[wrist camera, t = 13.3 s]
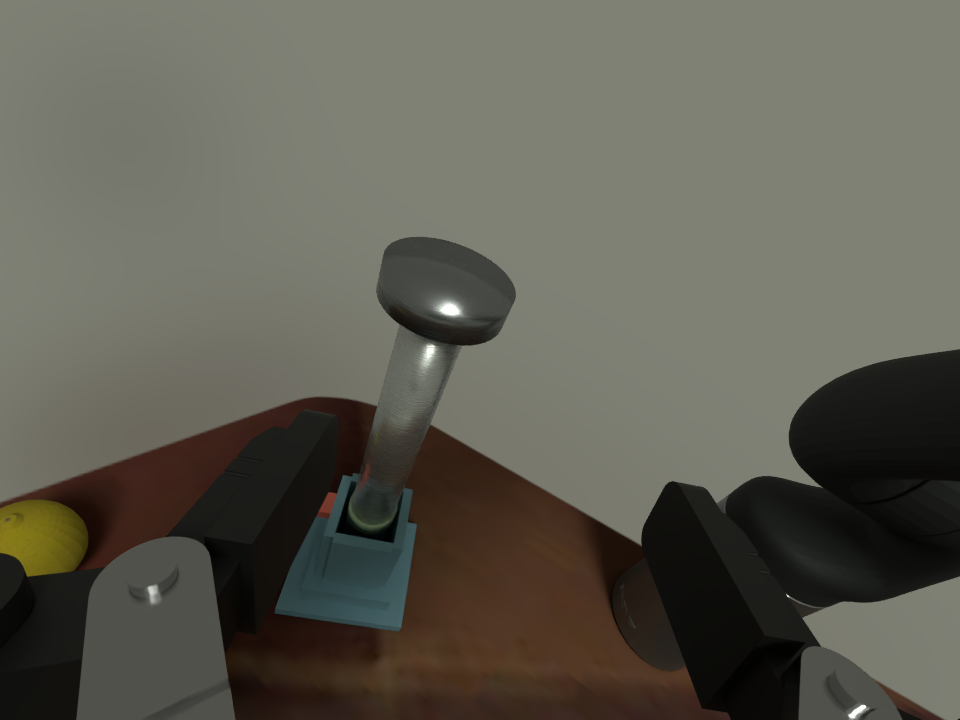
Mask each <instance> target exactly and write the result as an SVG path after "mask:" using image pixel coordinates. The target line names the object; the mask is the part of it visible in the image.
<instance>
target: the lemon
mask: <svg viewBox="0 0 960 720" xmlns="http://www.w3.org/2000/svg"><path fill="white" fill-rule="evenodd" d="M87 547H88V532H87V529H86V526H85V523H84V521H83V520H82V519H81V518H80V517H79V516H78V515H77V513H76V512H75V511H73V510H72V509H70V508H69V507H67V506H64V505H62V504H60V503H58V502H54V501H48V500H27V501H21V502H17V503H14V504H11V505H8V506H5V507H3V508H1V509H0V553H4V554H9V555H11V556H14V557H16V558H17V559H18V560H19V561H20V562H21V563H22V565H23V567H24V570H25V572H26V574H27V577H28V576H37V575H46V574H55V573H64V572H72V571H74V570H75V569H76V568H77V567H78V565H79V564H80V562H81V561H82V560H83V558H84V555H85V553H86V550H87Z"/></svg>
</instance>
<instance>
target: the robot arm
mask: <svg viewBox="0 0 960 720" xmlns="http://www.w3.org/2000/svg"><path fill="white" fill-rule="evenodd" d="M338 427H339V419H338V416H337V415H333V414H327V413H322V412H317V411H312V410H307V409H304V410H303V411H301V413H300V414H299V415H298V416H297V418H296V419H295V420H294V421H293V423H292V424H291V425H290V427H289V428H288V429H285V428H280V427H275V426H274V427H272V428H271V429H269V430H267V431H265V432H264V433H262V434H260V435H258V436H257V437H255V438H253V439H252V440H251V441H250V442H249V443H248V444H247V446H246V447H245V448H244V449H243V450H242V451H241V452H240V454H239V455H238V457H237V459H234V460H233V461H232V463H231V464H230V465H229V466H228V467H227V468H226V469H225V472H224V474H221V475H220V476H219V477H218V478H217V480H216V481H215V482H214V483H213V484H212V485H211V486H210V488H209V489H208V490H207V491H206V492H205V493H204V494H203V496H202V497H201V498H200V499H199V500H198V501H197V502H196V503H195V505H194V506H193V507H192V508H191V509H190V510H189V511H188V513H187V514H186V515H185V516H184V517H183V518H182V519H181V521H180V522H179V523H178V524H177V525H176V526H175V527H174V528H173V530H172V531H171V532H170V533H169V534H168V535H167V536H166V537H165V538H159V539H155V540H151V541H148V542H145V543H143V544H140V545H138V546H136V547H134V548H132V549H130V550H128V551H126V552H125V553H123V554H121V555H120V556H119V557H117V558H116V559H114V560H113V561H112V562H111V563H110V564H109V565H107V566H106V567H103V568H97V569H90V570H81V571H72V572H64V573H55V574H46V575H37V576H28V577H27V574H26V572H25V570H24V567H23V565H22V563H21V562H20V561H19V560H18V559H17V558H16V557H14V556H11V555H9V554H4V553H0V720H235V714H234V708H233V701H232V695H231V689H230V684H229V680H228V674H227V668H226V661H225V653H226V651H227V649H228V647H229V645H230V644H231V642H232V640H233V638H234V636H235V634H236V633H237V632H243V633H249V634H255V635H256V634H257V632H258V630H259V628H260V626H261V624H262V622H263V620H264V618H265V617H266V615H267V613H268V611H269V609H270V607H271V605H272V603H273V601H274V599H275V597H276V595H277V593H278V591H279V589H280V587H281V585H282V583H283V581H284V579H285V577H286V575H287V573H288V571H289V569H290V567H291V565H292V563H293V561H294V559H295V557H296V555H297V553H298V552H299V550H300V548H301V546H302V544H303V542H304V540H305V538H306V536H307V534H308V532H309V530H310V528H311V526H312V524H313V522H314V520H315V518H316V516H317V514H318V512H319V510H320V508H321V506H322V504H323V502H324V500H325V498H326V496H327V494H328V492H329V490H330V487H331V484H332V481H333V478H334V473H335V468H336V455H337V441H338ZM789 445H790V448H791V451H792V454H793V456H794V458H795V460H796V461H797V463H798V464H799V466H800V467H801V468H802V469H803V470H804V471H805V472H806V473H807V474H808V475H809V476H810V477H811V478H812V479H813V480H814V481H815V482H816V483H818V484H819V485H820V486H821V487H823V488H821V487H815V486H810V485H806V484H802V483H798V482H794V481H791V480H787V479H783V478H778V477H772V476H761V477H756V478H753V479H751V480H749V481H747V482H745V483H744V484H742V485H741V486H740V487H738V488H737V489H736V490H734V491H733V492H732V493H731V494H729V495H728V496H726V497H725V498H724V499H722V500H721V501H720V502H718V503H717V504H716V502H715V501H714V499H713V498H712V496H711V495H710V493H709V492H708V490H706V489H705V488H703V487H700V486H694V485H689V484H684V483H679V482H674V481H672V482H669V483H668V484H667V485H666V486H665V487H664V489H663V491H662V492H661V494H660V496H659V498H658V500H657V502H656V504H655V505H654V507H653V509H652V511H651V513H650V515H649V517H648V519H647V520H646V522H645V524H644V527H643V531H642V539H641V542H642V549H643V553H644V556H645V558H644V559H642V560H641V561H639V562H638V563H637V564H635V565H634V566H633V567H631V568H630V569H629V570H627V571H626V572H625V573H624V574H622V575H621V576H620V577H619V578H618V579H617V581H616V582H615V585H614V588H613V592H612V604H613V611H614V615H615V618H616V622H617V624H618V626H619V628H620V631H621V633H622V634H623V636H624V638H625V639H626V641H627V643H628V644H629V645H630V646H631V647H632V649H633V650H634V651H635V652H636V653H637V654H638V655H639V656H640V657H641V658H642V659H643V660H644V661H646V662H647V663H649V664H650V665H652V666H654V667H656V668H659V669H661V670H666V671H675V670H679V669H682V668H684V667H687V670H688V672H689V675H690V678H691V680H692V683H693V686H694V688H695V691H696V694H697V696H698V699H699V702H700V704H701V707H702V709H708V710H714V711H720V712H727V713H728V714H729V716H730V718H731V720H921V719H919V718H917V717H915V716H913V715H910V714H908V713H906V712H904V711H902V710H900V709H898V708H896V707H895V705H894V704H893V702H892V701H891V700H890V698H889V697H888V695H887V694H886V693H885V692H884V691H883V689H882V688H881V687H880V686H879V685H878V684H877V683H876V682H875V681H874V680H873V679H872V678H871V677H870V676H869V675H868V674H867V673H866V672H864V671H863V670H862V669H861V668H860V667H858V666H857V665H856V664H854V663H853V662H851V661H850V660H849V659H847V658H845V657H843V656H842V655H840V654H838V653H836V652H834V651H832V650H829V649H827V648H823V647H821V646H820V644H819V643H818V641H817V640H816V638H815V637H814V635H813V634H812V632H811V631H810V629H809V628H808V626H807V625H806V623H805V622H804V620H803V619H802V618H803V617H805V616H807V615H810V614H812V613H815V612H817V611H819V610H822V609H824V608H826V607H829V606H832V605H834V604H837V603H839V602H843V601H847V602H861V603H862V602H863V603H864V602H865V603H866V602H877V601H882V600H886V599H890V598H893V597H896V596H899V595H902V594H905V593H908V592H911V591H915V590H917V589H921V588H924V587H927V586H930V585H934V584H937V583H940V582H943V581H946V580H950V579H953V578H956V577H959V576H960V349H959V350H952V351H945V352H938V353H931V354H924V355H917V356H910V357H904V358H898V359H893V360H888V361H883V362H879V363H875V364H872V365H869V366H866V367H863V368H860V369H857V370H854V371H851V372H849V373H847V374H845V375H843V376H840V377H838V378H836V379H834V380H833V381H831V382H829V383H828V384H826V385H824V386H823V387H821V388H820V389H819V390H817V391H816V392H815V393H813V394H812V395H811V396H810V397H809V398H808V399H807V400H806V401H805V402H804V403H803V404H802V405H801V407H800V408H799V409H798V410H797V412H796V414H795V415H794V417H793V419H792V422H791V425H790V430H789ZM958 720H960V719H958Z"/></svg>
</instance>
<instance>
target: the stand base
mask: <svg viewBox="0 0 960 720" xmlns="http://www.w3.org/2000/svg"><path fill="white" fill-rule="evenodd" d="M358 476H359V474H355V473H353V476H352V477H350V476H346V475H343V477H342V481H341V484H340V487H339V490H338V493H337V494H336V493H331V492H328V494H327V496H326V498H325V500H324V502H323V504H322V506H321V508H320V510H319V512H318V514H317V516H316V518H315V520H314V522H313V524H312V526H311V528H310V530H309V532H308V534H307V536H306V538H305V540H304V542H303V544H302V546H301V548H300V550H299V552H298V553H297V555H296V557H295V559H294V561H293V563H292V565H291V567H290V570H289V573H288V575H287V578H286V581H285V583H284V586H283V589H282V591H281V594H280V597H279V600H278V602H277V605H276V608H275V614H282V615H289V616H295V617H302V618H309V619H316V620H323V621H330V622H337V623H344V624H350V625H357V626H364V627H371V628H378V629H385V630H392V631H399V630H400V629H401V626H402V619H403V613H404V606H405V599H406V593H407V586H408V580H409V573H410V567H411V560H412V554H413V547H414V540H415V534H416V527H417V524H413V523H408V516H409V510H410V505H411V499H412V493H413V490H411V489H407V488H405V487H404V489H403V492H402V494H401V497H400V499H399V502H398V508H397V512H396V514H395V517H394V519H393V521H392V523H391V525H390V526H389V527H388V529H387V531H386V534H385V536H384V538H383V541H378V540H373V539H367V538H362V537H357V536H351V535H346V534H344V528H345V524H346V521H347V509H348V505H349V502H350V498H351V496H352V494H353V493H354V491H355V487H356V484H357V480H358Z"/></svg>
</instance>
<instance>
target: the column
mask: <svg viewBox="0 0 960 720" xmlns="http://www.w3.org/2000/svg"><path fill="white" fill-rule="evenodd" d="M376 292H377V297H378V300H379V302H380V304H381V305H382V307H383V309H384V310H385V311H386V312H387V313H388V315H389V316H391V318H393V319H394V320H395V321H396V322H397V323H399V324H400V325H399V329H398V332H397V336H396V340H395V343H394V347H393V351H392V354H391V358H390V362H389V366H388V369H387V373H386V377H385V380H384V384H383V388H382V392H381V395H380V399H379V403H378V406H377V410H376V414H375V417H374V421H373V425H372V428H371V432H370V436H369V439H368V443H367V447H366V450H365V454H364V458H363V462H362V465H361V469H360V473H359V476H358V480H357V484H356V487H355V491H354V493H353V494H352V496H351V498H350V502H349V505H348V509H347V521H346V524H345V528H344V534H346V535H351V536H357V537H362V538H367V539H373V540H378V541H383V538H384V536H385V534H386V531H387V529H388V527H389V526H390V525H391V523H392V521H393V519H394V517H395V514H396V512H397V508H398V502H399V499H400V497H401V494H402V492H403V489H404V487H405V484H406V482H407V479H408V477H409V475H410V472H411V470H412V467H413V465H414V462H415V460H416V457H417V455H418V452H419V450H420V448H421V445H422V443H423V440H424V438H425V435H426V433H427V430H428V428H429V425H430V423H431V420H432V418H433V415H434V413H435V411H436V408H437V406H438V403H439V401H440V398H441V396H442V393H443V391H444V388H445V386H446V383H447V381H448V379H449V376H450V374H451V371H452V369H453V366H454V364H455V361H456V359H457V357H458V354H459V352H460V349H461V346H462V345H463V346H464V345H476V344H481V343H485V342H487V341H490V340H491V339H493V338H494V337H496V336H497V335H498V334H499V332H500V330H501V328H502V326H503V324H504V322H505V320H506V318H507V316H508V314H509V312H510V309H511V307H512V305H513V303H514V300H515V297H516V292H515V288H514V285H513V283H512V281H511V280H510V279H509V277H508V276H507V274H506V273H505V272H504V271H503V270H502V269H501V268H499V267H498V266H497V265H496V264H495V263H493V262H492V261H491V260H489V259H487V258H486V257H484V256H483V255H481V254H479V253H477V252H475V251H473V250H471V249H469V248H467V247H464V246H461V245H459V244H456V243H452V242H449V241H445V240H441V239H436V238H428V237H410V238H404V239H400V240H398V241H395V242H393V243H391V244H390V245H389V246H388V247H387V248H386V250H385V251H384V255H383V259H382V264H381V269H380V273H379V278H378V283H377V290H376Z"/></svg>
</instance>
